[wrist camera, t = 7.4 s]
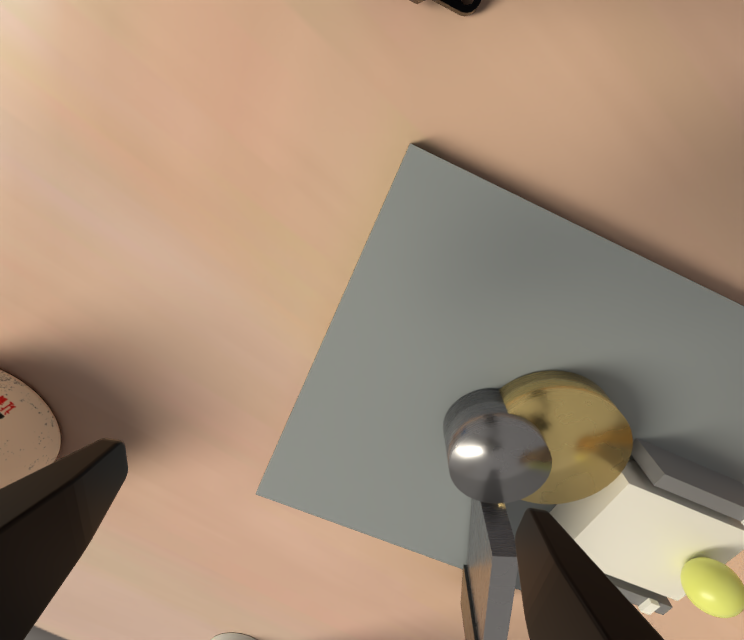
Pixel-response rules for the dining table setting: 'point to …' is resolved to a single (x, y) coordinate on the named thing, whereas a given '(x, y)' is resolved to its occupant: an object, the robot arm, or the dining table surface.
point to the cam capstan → (525, 472)
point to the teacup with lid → (24, 431)
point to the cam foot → (659, 541)
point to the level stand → (502, 362)
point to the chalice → (232, 637)
